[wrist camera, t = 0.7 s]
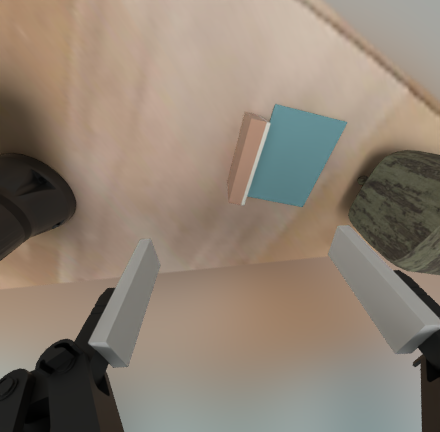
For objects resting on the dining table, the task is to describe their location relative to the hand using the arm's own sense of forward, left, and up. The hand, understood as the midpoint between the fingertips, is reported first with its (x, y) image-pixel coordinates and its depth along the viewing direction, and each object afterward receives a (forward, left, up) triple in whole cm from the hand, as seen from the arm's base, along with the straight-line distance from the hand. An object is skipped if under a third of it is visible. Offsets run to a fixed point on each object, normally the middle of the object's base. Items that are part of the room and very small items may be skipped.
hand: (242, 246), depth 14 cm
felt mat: (+11, +1, -23) cm, 26 cm away
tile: (+2, +1, -23) cm, 24 cm away
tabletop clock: (+27, +1, -24) cm, 36 cm away
